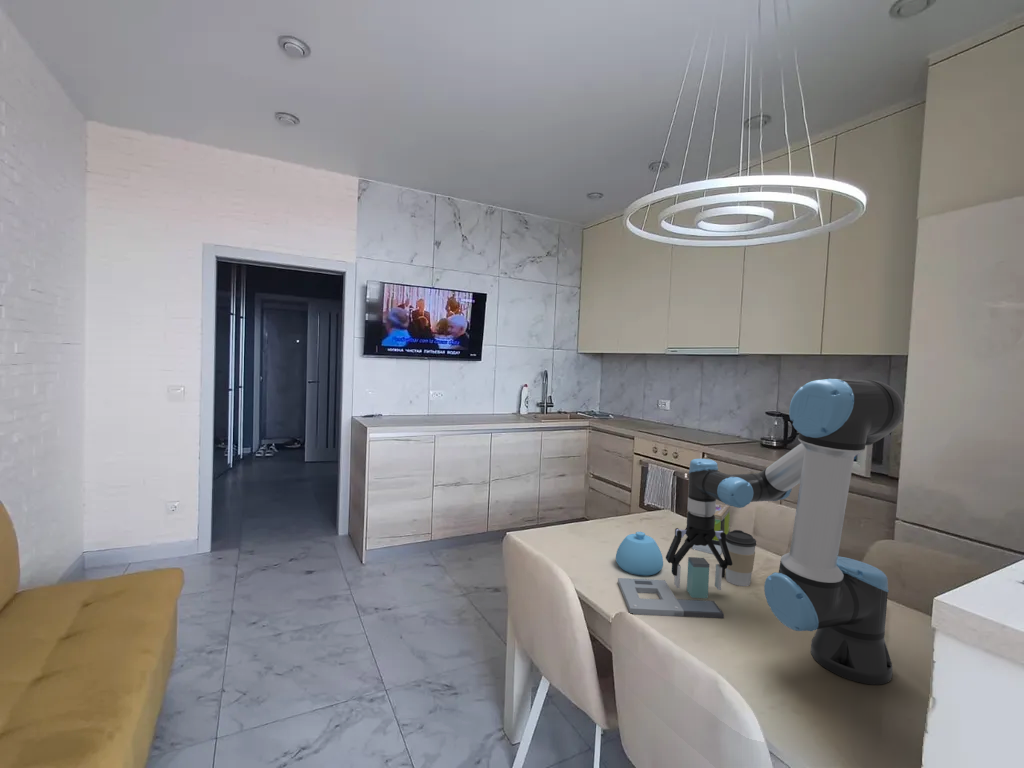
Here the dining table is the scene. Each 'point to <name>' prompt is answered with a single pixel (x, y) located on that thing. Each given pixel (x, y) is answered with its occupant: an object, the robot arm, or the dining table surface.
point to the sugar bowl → (639, 555)
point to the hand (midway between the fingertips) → (697, 586)
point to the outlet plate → (649, 606)
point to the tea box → (718, 527)
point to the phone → (700, 608)
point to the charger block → (698, 577)
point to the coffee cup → (740, 557)
